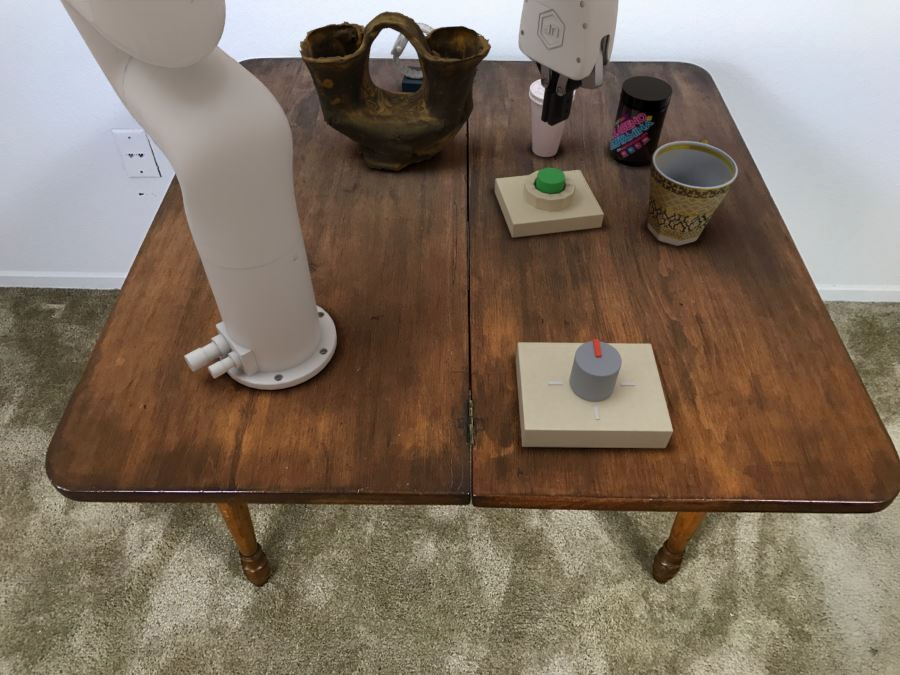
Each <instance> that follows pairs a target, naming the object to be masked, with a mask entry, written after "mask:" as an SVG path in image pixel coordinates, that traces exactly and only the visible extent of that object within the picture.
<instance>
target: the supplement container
mask: <svg viewBox="0 0 900 675" xmlns="http://www.w3.org/2000/svg"><path fill="white" fill-rule="evenodd" d="M672 95H673V88H672V86H671V84H669V83H668V82H667V81H665V80H663V79H661V78H657V77H653V76H649V75H636V76H632V77H628V78H627V79H625V80H624V81H623V82H622V86H621V91H620V94H619V100H618V106H617V110H616V115H615V119H614V125H613V130H612V134H611V139H610V143H609V152H610V155H611V156H612V158H613V159H614V160H616V161H617V162H619V163H620V164H624V165H626V166H631V167H632V166H633V167H634V166H635V167H637V166H643V165H647V164H648V163H651V161H652V156H653V153H654V152H655V151H656V149H658V147H659V146H658V145H659V142H660V139H661V134H662V131H663V127H664V125H665V124H664V123H665V119H666V116H667V112H668V109H669V106H670V103H671V100H672Z"/></svg>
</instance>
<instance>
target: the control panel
mask: <svg viewBox="0 0 900 675" xmlns="http://www.w3.org/2000/svg"><path fill="white" fill-rule="evenodd" d="M584 343H585V342H531V341H530V342H528V341H527V342H523V341H522V342H520V341H519V342H517V345H516V346H517V347H516V353H515V371H516V372H515V373H516V383H517V384H516V385H517V398H518V399H517V400H518V409H519V424H520V437H521V438H520V439H521V447H522V448H599V449H600V448H601V449H602V448H604V449H605V448H607V449H610V448H611V449H666V448H667V446H668V444H669V442H670V440H671V438H672V436H673V433H674V429H673V425H672V421H671V417H670V413H669V409H668V404H667V401H666V396H665V394H664V390H663V386H662V381H661V377H660V373H659V370H658V366H657V362H656V358H655V354H654V350H653V346H652V343H623V342H622V343H621V342H620V343H619V342H618V343H615V342H606V343H607V344H609V345H611V346H613V347H614V348H615V349H616V350H617V351H618V352H619V354H620V356H621V359H622V364H621V368H620V371H619V374H618V377H617V381H616V384H615V387H614V390H613V393H612V394H611V395H610V396H609V397H608V398H606V399H604V400H602V401H588V400H585V399H582V398H580V397H579V396H577V395H576V394H575V393H574V392H573V390H572V389H571V387H570V382H569V380H570V375H571V370H572V366H573V362H574V357H575V353H576V350H577V349H578V347H580V346H581V345H582V344H584Z"/></svg>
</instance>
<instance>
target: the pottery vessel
mask: <svg viewBox="0 0 900 675" xmlns="http://www.w3.org/2000/svg"><path fill="white" fill-rule="evenodd" d="M417 23H418V22H417V21H415V19H414V18H412V17H410V16H408V15H405V14H404V13H401V12H398V11H387V10H386V11H384V12H380V13H378V14H377V15H375V17H373V18H372V19H371V20H370V21H369V22H368V23H366V25H365V26H364V25H361V24H358V23H352V22H351V23H350V22H349V21H343V22H341V23H337V24H336V23H331V24H326V25H324V26H321V27H317V28H314V29H311V30H309V31H307V32H306V35H305V38H304V39H303V40H302V41H299V48H300V49H298V51H299V53H300V56H301V60H302V61H303V62H304V65H305V66H306V68H307V70H308V72H309V74H310V76H311V79H312V82H313V86H314V89H315V91H316V94H317V95H318V101H319V105H320V109H321V113H322V116H323V121H324V122H325V123H326V125H327V126H329V127H330V128H332V129H333V130H335V131H337V132H338V133H340V134H341V135H344V136H345V137H347V138H349V139H350V140H352V141H353V142H355V143H356V144H358V149H357V153H359V154H361V153H363V154H362V155H363V160H364V162H366V163H365V164H366V165H367V166H368V167H369V168H371V169H378V170H382V169H384V170H390V171H397V172H399V171H400V170H401V169H403V168H406V167H407V166H409V165H411V164H414V163H420V162H424V161H425V160H431V159H432V158H433V156H434V157H435V156H438V155H439V152H441V151H442V150H443V149H444V148H445V147H447V146H448V145H449V144H450V143H451V142H452V141H453V140H454V139H455V137H456V136H457V135H458V133H459V132H460V131H461V130H462V128H463V127H464V125H465V124H466V123H467V121H468V120H469V118H470V117H471V115H472V112H473V110H474V98H473V95H474V94H473V91H474V90H473V89H474V81H475V78H476V77H477V76H476V75H477V70H478V69H477V67H478V66H479V65H480V64H481V62H482V61H483V60H484V59H486V57H487V56H488V55H489V53H490V51H491V48H492V45H491V44H490V43H489V41H490V38H489V39H486V38H485V37H484V36H485V35H482V34H481V33H479V32H477V31H476V30H474V29H473V28H470V27H466V26H464V25H459V26H458V25H455V26H440V27H437V28H433V29H434V30H432V31H431V32H430V33H429V34H426V33H423V32H422V30H421V29H420V26H419V25H418V24H417ZM385 29H391V30H393V31H396V32H398V34H400V33H401V34H402V35H404V36H405V38H406V39H407V40H408V43H410V45H411V46H412V47H413V48H414V50H415V52H416V55H417V59H418V62H419V67H421V70H422V74H423V82H422V86H421V88H420V89H419V90H418V91H417V92H415V93H409V92H402V91H393V90H386V89H383V88H381V87H379V86H377V85H376V84H375V83H374V82H373V80H372V78H371V74H370V56H371V49H372V45H373V43H374V42H375V40H376V39H377V37H378V36H379V35H380V33H381V32H382V31H383V30H385Z"/></svg>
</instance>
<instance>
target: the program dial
mask: <svg viewBox="0 0 900 675" xmlns="http://www.w3.org/2000/svg"><path fill="white" fill-rule="evenodd" d="M583 343H584V344H582V345H581V346H580V347H578V349H577V350H576V353H575V357H574V362H573V366H572V370H571V375H570V380H569V382H570V387H571V389H572V390H573V392H574V393H575V394H576V395H577V396H579V397H580V398H582V399H585V400H588V401H602V400H604V399H606V398H608V397H609V396H610V395H611V394H612V393H613V390H614V387H615V384H616V381H617V377H618V374H619V371H620V368H621V364H622V359H621V356H620V354H619V352H618V351H617V350H616V349H615V348H614V347H613V346H611V345H609V344H607V343H608V342H604V341H600V339H599V338H593V339H592V340H590V341H587V342H583Z"/></svg>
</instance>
